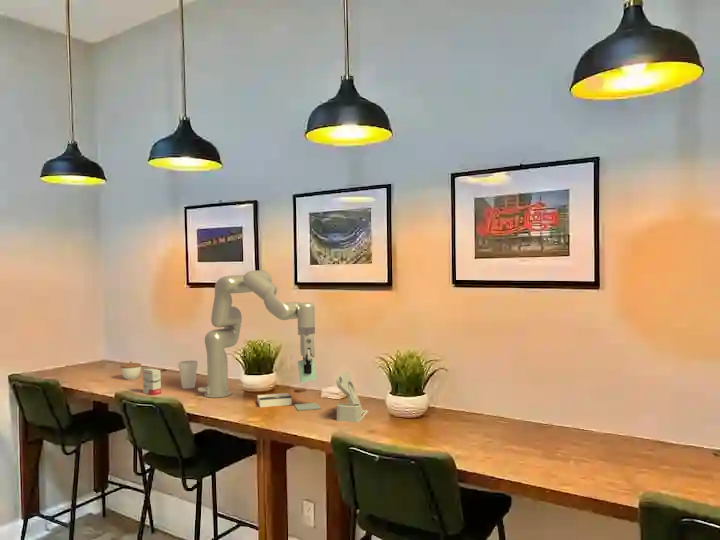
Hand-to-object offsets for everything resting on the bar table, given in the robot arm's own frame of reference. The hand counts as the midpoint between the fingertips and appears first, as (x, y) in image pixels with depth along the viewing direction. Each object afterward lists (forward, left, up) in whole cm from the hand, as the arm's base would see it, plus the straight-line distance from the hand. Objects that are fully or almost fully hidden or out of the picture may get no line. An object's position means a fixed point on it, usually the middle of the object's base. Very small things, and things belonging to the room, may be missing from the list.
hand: (307, 372), depth 263 cm
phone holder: (+15, -21, -16) cm, 30 cm away
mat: (0, 0, -15) cm, 15 cm away
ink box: (-68, +51, -16) cm, 87 cm away
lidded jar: (-82, +94, -16) cm, 126 cm away
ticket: (+1, 0, -3) cm, 3 cm away
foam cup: (-51, +60, -15) cm, 80 cm away
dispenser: (-13, +12, -15) cm, 24 cm away
